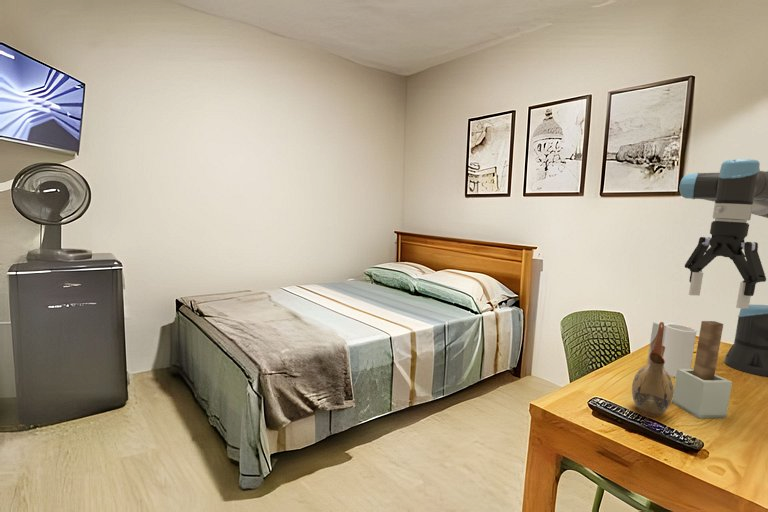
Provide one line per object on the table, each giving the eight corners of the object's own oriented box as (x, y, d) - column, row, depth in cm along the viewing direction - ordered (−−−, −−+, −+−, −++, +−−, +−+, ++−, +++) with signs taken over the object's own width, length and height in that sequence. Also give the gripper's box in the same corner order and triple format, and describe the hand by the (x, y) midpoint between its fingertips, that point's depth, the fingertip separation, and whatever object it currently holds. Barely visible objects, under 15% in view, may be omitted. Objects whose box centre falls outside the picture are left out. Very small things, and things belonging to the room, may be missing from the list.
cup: (694, 379, 133) (702, 332, 131) (666, 376, 135) (673, 329, 133) (681, 370, 141) (688, 325, 139) (655, 366, 143) (662, 322, 141)
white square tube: (697, 402, 117) (703, 368, 116) (725, 417, 109) (732, 382, 108) (671, 402, 116) (677, 369, 115) (698, 418, 108) (704, 382, 106)
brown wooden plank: (700, 404, 114) (714, 321, 111) (708, 409, 112) (723, 324, 108) (687, 404, 113) (701, 321, 110) (695, 409, 111) (710, 323, 108)
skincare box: (665, 360, 150) (671, 320, 148) (680, 366, 144) (686, 326, 142) (646, 360, 148) (652, 321, 146) (660, 367, 143) (667, 326, 141)
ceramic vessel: (669, 432, 100) (685, 333, 97) (626, 419, 105) (640, 325, 102) (668, 406, 114) (682, 319, 110) (631, 396, 119) (643, 312, 115)
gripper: (677, 217, 117) (665, 290, 120) (769, 223, 93) (752, 314, 96) (700, 219, 118) (688, 290, 121) (797, 224, 94) (779, 314, 97)
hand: (716, 301), depth 108 cm, fingers open, 13 cm apart
